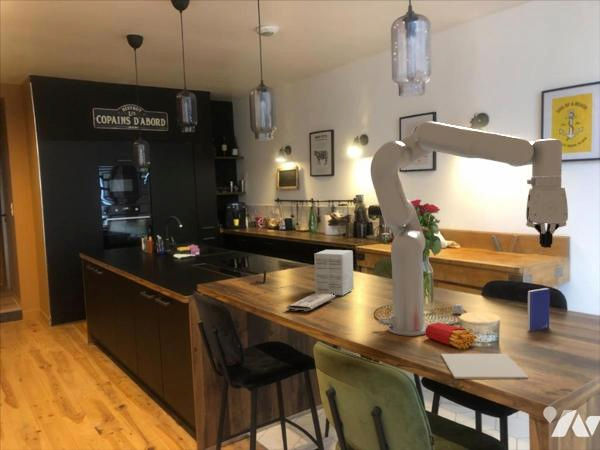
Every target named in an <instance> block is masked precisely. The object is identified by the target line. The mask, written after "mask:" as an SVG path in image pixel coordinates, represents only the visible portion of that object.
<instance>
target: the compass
mask: <svg viewBox="0 0 600 450" xmlns="http://www.w3.org/2000/svg"><path fill="white" fill-rule="evenodd" d="M266 278H267V270H266V269H263V279H262V280H263V282H262V281H261V280H253V281H251V282H250V285H254V286H258V285H261V284H264V283H265V284H266V281H267V280H266Z"/></svg>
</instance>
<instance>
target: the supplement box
mask: <svg viewBox="0 0 600 450" xmlns="http://www.w3.org/2000/svg"><path fill="white" fill-rule="evenodd" d="M313 255H314V286H315V293H314V294H316V293H323V294H334V295H335V296H344V295H347V294H348V293H350V292H351V291H353V290H354V288H355V287H354V252H353V250H349V249H345V250H343V249H324V250H321V251H319V252H316V253H315V252H314V254H313Z"/></svg>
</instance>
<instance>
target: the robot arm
mask: <svg viewBox="0 0 600 450" xmlns="http://www.w3.org/2000/svg"><path fill="white" fill-rule="evenodd" d="M562 145H563V144H562V141H561V140H560V139H558V138H547V139H546V138H545V139H544V138H543V139H538V140H535V141H529V140H527V139H524V138H522V137H521V138H520V137H516V136H511V135H506V134H501V133H500V134H499V133H494V132H487V131H482V130H478V129H474V128H469V127H468V128H467V127H464V126H457V125H453V124H452V125H451V124H446V123H442V122H437V121H424V122H422V123H420V124H418V126H417V127H416V129H415V131H414V132H413V133H411V134H410V135H407V137H405V138H403V139H401V140H399V141H398V140H390V141H387V142H385V143H384V144H382V145H381V146H380V147H379V148H378V149H377V150H376V152H375V153H374V155H373V157H372V159H371V163H370V179H371V182H372V185H373V189H374V191H375V195H376V199H377V202H378V205H379V209H380V211H381V216H382V219H383V222H384V223H385V225H387V227H389V228H390V230H391V231H392V234H393V240H392V242H391V245H390V258H391V259H390V260H391V270H392V271H391V273H392V279H391V280H392V313H391V315H390V316H388V317H378V324H379V325H380V324H381V325H382V324H383V326H388V327H387V329H388V331H389V332H390V333H392V334H394V335H399V336H406V337H408V336H409V337H415V336H423V335H426V328H427V326H428V325H426V323H425V318H424V316H425V313H424V312H425V311H424V308H425V307H424V306H425V305H424V303H425V301H424V300H425V299H424V262H423V261H424V259H423V253H424V251H425V247H426V238H425V235H424V231H423V229H422V226H421V223H420V219H419V217H418V214H417V210H416V207H415V205H414V204H413V202H412V201H410V200H409V199H408V198H407V197H406V194H405V191H404V188H403V185H402V181H401V179H400V176H399V170H401V169H404V168H406V167H408V166H411V165H412V164H414V163H415V162H417V161H418V160H421V159H422V158H424V157H426V156H428V155H430V154H431V153H433V152H436V153H442V154H446V155H452V156H455V157H461V158H466V159H481V160H482V159H483V160H487V161H491V162H493V161H494V162H498V163H503V164H507V165H509V166H512V167H517V168H518V167H524V166H530V165H531V167H532V168H531V169H532V171H531V173H532V174H531V178H530V179H527V180H526V183H527V185H530V186H531V188H529V191H528V195H527V201H526V209H525V210H526V211H525V212H526V213H525V215H526V216H525V218H526V224H525V226H526V227H528V228H531V229H534V230H536V232H538V234H539V245H540V247H541V248H552V245H553V240H554V239H553V236H554V235H553V234H554V233H555V232H556V230H557V229H559V228H562V227H566V226H567V221H568V219H569V212H568V211H569V209H568V198H567V193H566V188H565V187H562V165H563V159H562V158H563V156H562V155H563V146H562Z"/></svg>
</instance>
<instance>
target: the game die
mask: <svg viewBox="0 0 600 450" xmlns="http://www.w3.org/2000/svg"><path fill="white" fill-rule="evenodd" d="M452 312H453V313H454V315H455V314H456V315H460V314H462V313H463V312H464V306H462V304H460V303H456V304H454V305H453V307H452Z"/></svg>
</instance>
